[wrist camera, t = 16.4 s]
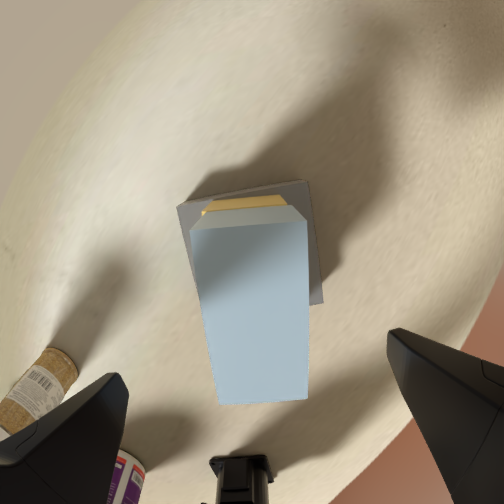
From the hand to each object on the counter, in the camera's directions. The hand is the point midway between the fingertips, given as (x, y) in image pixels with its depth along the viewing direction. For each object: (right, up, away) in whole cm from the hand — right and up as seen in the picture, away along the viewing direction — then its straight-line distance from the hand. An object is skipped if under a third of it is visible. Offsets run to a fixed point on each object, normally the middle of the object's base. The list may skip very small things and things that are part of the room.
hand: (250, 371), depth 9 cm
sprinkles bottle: (-19, -8, +16) cm, 26 cm away
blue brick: (0, +2, +6) cm, 7 cm away
